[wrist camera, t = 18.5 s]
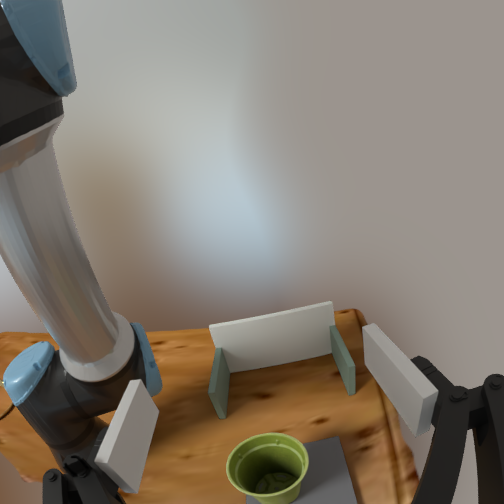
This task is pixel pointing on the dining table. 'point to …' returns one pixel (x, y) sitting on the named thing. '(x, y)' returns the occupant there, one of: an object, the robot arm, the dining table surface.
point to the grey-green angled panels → (275, 346)
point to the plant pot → (268, 467)
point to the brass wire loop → (10, 405)
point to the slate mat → (323, 476)
